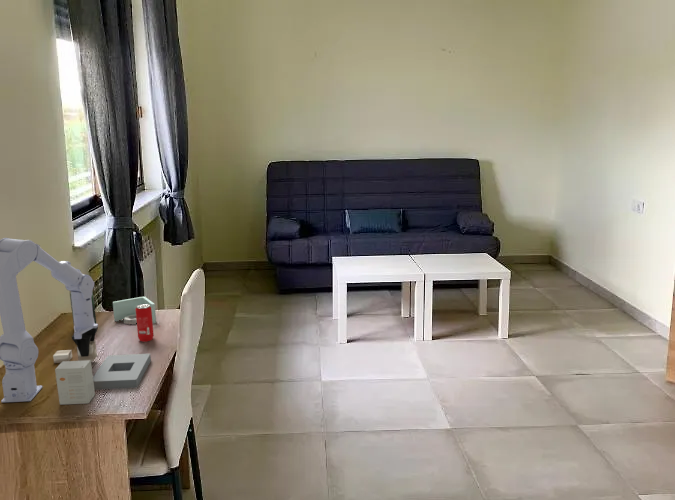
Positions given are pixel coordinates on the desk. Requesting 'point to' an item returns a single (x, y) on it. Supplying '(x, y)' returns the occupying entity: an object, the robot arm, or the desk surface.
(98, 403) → the desk surface
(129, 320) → the l-shaped corner panel
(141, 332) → the beverage can
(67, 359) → the short peg
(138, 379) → the hole board
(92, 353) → the cream square block
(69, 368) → the small box
